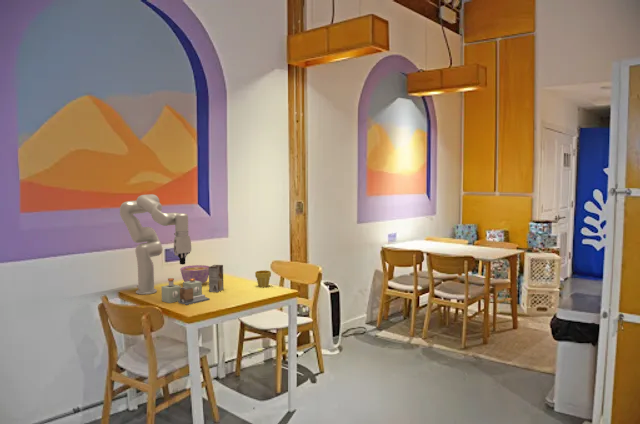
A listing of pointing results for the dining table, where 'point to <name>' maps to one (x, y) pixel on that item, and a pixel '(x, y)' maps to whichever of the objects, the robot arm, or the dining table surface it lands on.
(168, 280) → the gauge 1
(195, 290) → the cabinet
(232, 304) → the dining table surface
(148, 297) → the dining table surface
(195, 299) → the rail board
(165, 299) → the cabinet
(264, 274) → the plant pot
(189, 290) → the brown upright block
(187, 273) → the bowl of food
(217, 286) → the coffee box
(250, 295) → the dining table surface
